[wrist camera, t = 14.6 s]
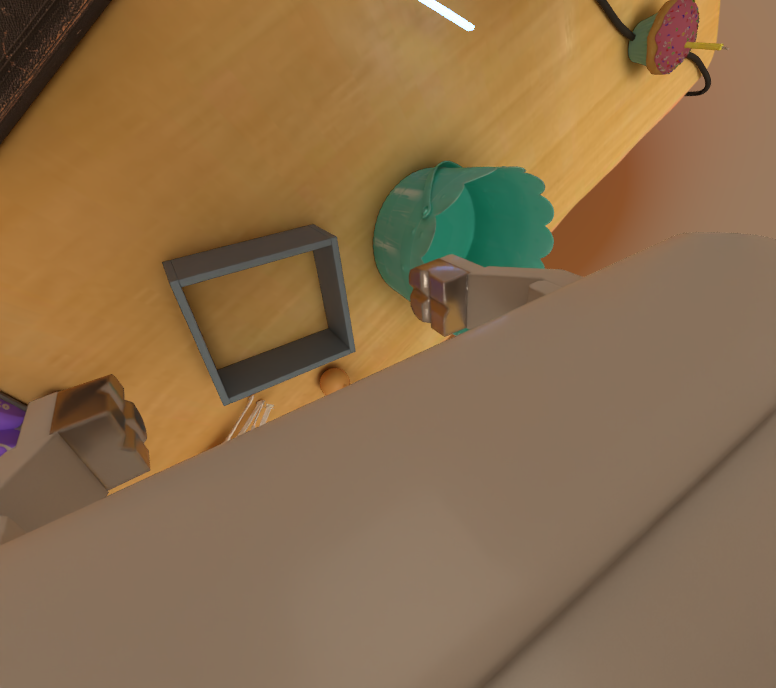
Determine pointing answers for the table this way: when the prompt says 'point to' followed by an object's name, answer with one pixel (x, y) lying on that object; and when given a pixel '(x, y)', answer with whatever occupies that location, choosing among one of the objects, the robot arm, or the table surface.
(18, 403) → the toy race car
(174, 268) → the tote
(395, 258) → the basket
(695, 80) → the table surface
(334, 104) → the table surface
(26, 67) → the hardcover book
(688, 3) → the cupcake
